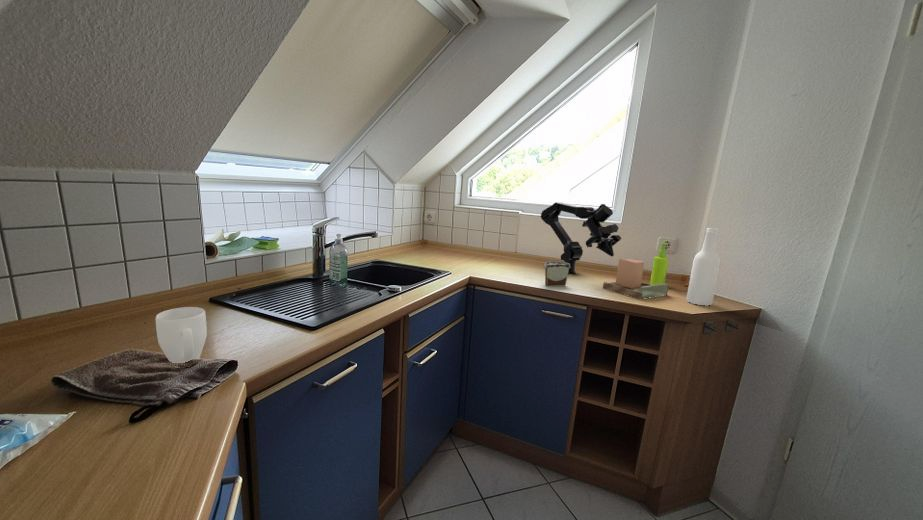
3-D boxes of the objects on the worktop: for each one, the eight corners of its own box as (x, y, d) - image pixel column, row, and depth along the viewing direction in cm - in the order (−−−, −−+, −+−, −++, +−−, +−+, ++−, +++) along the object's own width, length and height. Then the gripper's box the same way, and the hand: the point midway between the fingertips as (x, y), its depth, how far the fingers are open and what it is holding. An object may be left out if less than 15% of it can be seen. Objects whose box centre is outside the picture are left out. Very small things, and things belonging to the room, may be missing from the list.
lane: (602, 288, 164) (604, 277, 163) (629, 284, 174) (630, 273, 173) (640, 299, 149) (642, 287, 148) (666, 295, 159) (668, 283, 158)
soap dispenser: (666, 285, 177) (673, 243, 173) (661, 287, 172) (669, 244, 168) (652, 282, 181) (659, 241, 177) (648, 284, 176) (655, 242, 172)
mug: (158, 362, 80) (153, 311, 77) (205, 352, 85) (201, 304, 83) (165, 386, 71) (159, 329, 69) (216, 373, 77) (212, 320, 75)
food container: (560, 282, 171) (563, 260, 169) (568, 285, 165) (571, 263, 163) (536, 282, 167) (538, 260, 165) (543, 286, 161) (546, 263, 159)
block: (615, 283, 166) (619, 258, 164) (624, 282, 169) (627, 258, 167) (631, 287, 159) (635, 262, 157) (640, 286, 162) (644, 261, 160)
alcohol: (710, 302, 151) (725, 228, 145) (712, 308, 144) (728, 230, 138) (685, 298, 155) (698, 226, 149) (686, 303, 148) (700, 227, 142)
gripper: (594, 217, 166) (611, 246, 159) (620, 217, 176) (638, 245, 169) (578, 232, 174) (594, 260, 167) (604, 232, 184) (620, 258, 177)
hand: (612, 256), depth 170 cm, fingers closed
